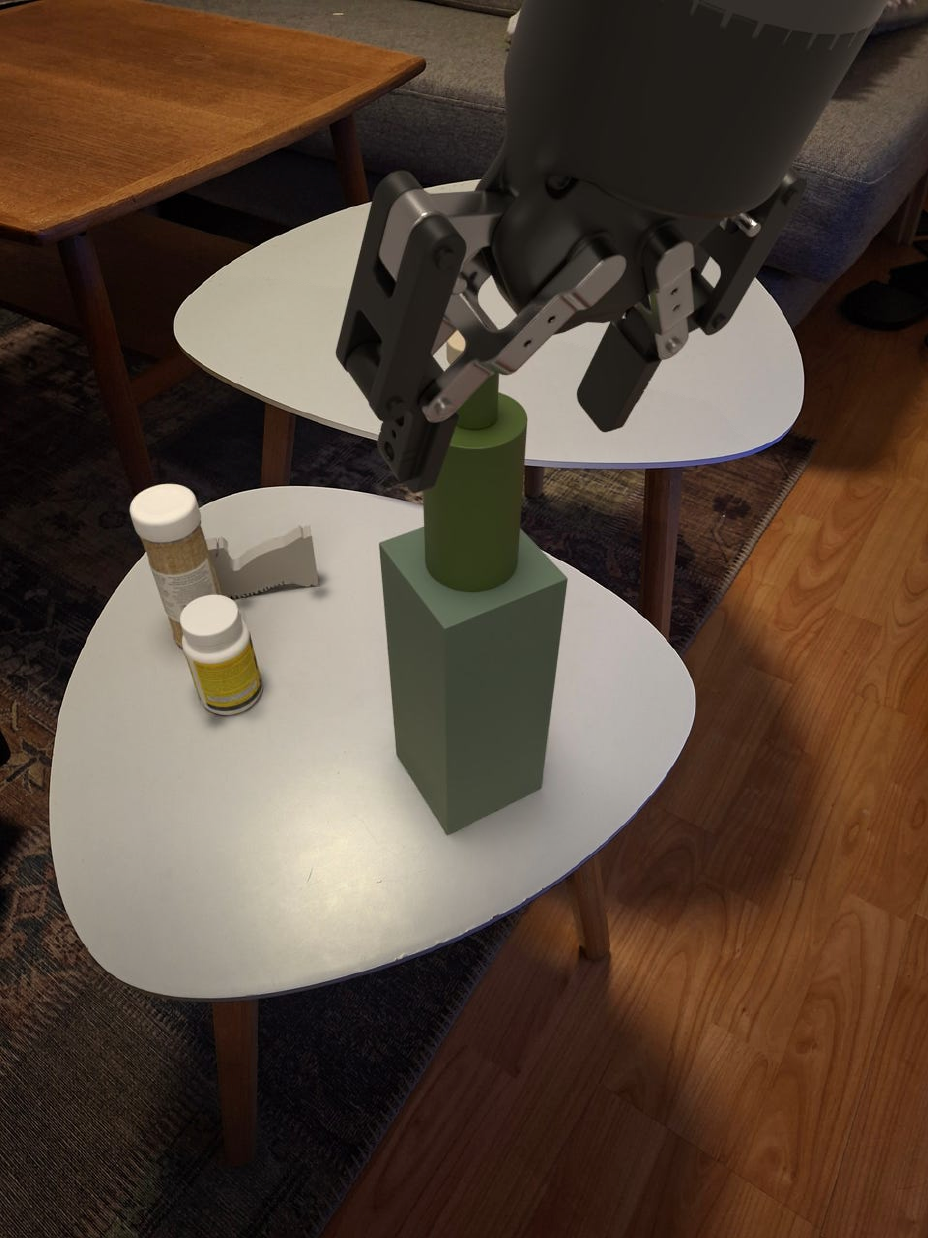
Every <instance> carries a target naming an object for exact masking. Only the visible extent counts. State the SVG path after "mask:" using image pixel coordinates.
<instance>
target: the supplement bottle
mask: <svg viewBox="0 0 928 1238" xmlns="http://www.w3.org/2000/svg"><path fill="white" fill-rule="evenodd" d="M180 624H181V627H182V631H183V637H182V647H183V648H182V647H181V648H182V651H183V654H184V657H185V660H186V663H187V666H188V670H189V673H190V675H191V679H192V681H193V684H194V687H195V690H196V693H197V696H198V699H199V701H200V703H201V705H202V706H203V707H204V708H205V709H207V710H208V711H210V712H212V713H214V714H217V715H223V716H229V715H236V714H239V713H242V712H244V711H246V710H248V709H250V708H251V707H252V706H253V705H254V704H255V703H256V702H257V701H258V700H259V698H260V697H261V695H262V691H263V680H262V679H263V678H262V675H261V672H260V667H259V664H258V660H257V654H256V651H255V648H254V644H253V639H252V635H251V631H250V629H249V626H248V625H247V623H246V622H245V621H244V620H243V619H242V615H241V614H240V611H239V608H238V605H237V603H236V602H235V601H234V600H233V599H230V598H228V597H227V596H222V595H207V596H203V597H200V598H197V599H195V600H193V601H192V602H190V603H189V604H188V605H187V606H186V607H185V608H184V609H183V611H182V613H181V615H180Z"/></svg>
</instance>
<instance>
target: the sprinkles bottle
mask: <svg viewBox="0 0 928 1238" xmlns="http://www.w3.org/2000/svg"><path fill="white" fill-rule="evenodd" d="M129 514H130V518H131V521H132V525H133V527H134V530H135V532H136V533H137V535H138V536H139V538H140V540H141V543H142V545H143V546H144V551H145V552H146V557H147V560H148V565H149V569H150V571H151V573H152V576H153V579H154V582H155V585H156V588H157V591H158V594H159V598H160V601H161V603H162V606H163V608H164V611H165V614H166V615H167V618H168V621H169V625H170V626H171V629H172V638H173V640H174V642H175V643H176V644H177V645H178V646H179V647H180V648H182V649H183V647H182V637H183V631H182V627H181V624H180V615H181V613H182V611H183V609H184V608H185V607H186V606H187V605H188V604H189V603H190V602H192V601H193V600H195V599H197V598H200V597H203V596H207V595H221V591H220V587H219V584H218V580H217V577H216V573H215V569H214V567H213V565H212V562H211V558H210V554H209V551H208V548H207V544H206V540H207V539H206V537H205V535H204V531H203V527H202V513H201V510H200V507H199V502H198V501H197V497H196V495H195V494H194V492H193V491H192V490H191V489H190V488H188V487H186V486H184V485H182V484H181V485H180V484H176V483H164V484H163V483H162V484H158V485H157V484H156V485H153V486H151V487H148V488H145V489H144V490H143V491H140V492H139V493H138V494H137V495H136V496H134V498H133V500H132V501H131V503H130V505H129ZM205 539H206V540H205Z"/></svg>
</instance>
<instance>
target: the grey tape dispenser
mask: <svg viewBox="0 0 928 1238" xmlns="http://www.w3.org/2000/svg"><path fill="white" fill-rule="evenodd" d="M205 540H206V544H207V548H208V551H209V554H210V558H211V562H212V565H213V567H214V569H215V573H216V577H217V580H218V584H219V587H220V591H221V595H222V596H226V597H228V598H230V599H231V597H232V598H233V599H241V598H242V597H244V598H245V597H249V596H250V595H251V596H254V594H259V591H260V592H261V593H263V592H265V591H268V590H269V589H271V588H276V587H278V586H279V585H280V586H284V585H292V584H295V585H299V586H303V587H306V588H309V587H310V586H314V587H318V586H320V584H319V577H318V576H319V575H318V569H317V562H316V555H315V554H316V553H315V547H314V540H313V534H312V528H311V524H309V525H305V526H301V525H297V526H296V527H295V528H293V529H292V530H290V531H288V532H287V533H285V534H283V535H281V536H277V537H274V538H270V539H268V540H266V541H263V542H261V543H258V544H257V545H254V546H253V547H251V548H250V549H248V550H246V551H245V552H244V553H243V554H242V555H240V556H239V557H238V558H235V559H233V558H232V557H231V555H230V554H229V544H228V540H226V538H225V537H223V536H219V537H218V538H217V537H210V538H205ZM231 600H232V599H231Z"/></svg>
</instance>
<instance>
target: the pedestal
mask: <svg viewBox="0 0 928 1238" xmlns="http://www.w3.org/2000/svg"><path fill="white" fill-rule="evenodd" d="M378 549H379V550H378V551H379V563H380V573H381V575H380V576H381V587H382V597H383V599H382V600H383V609H384V621H385V634H386V647H387V657H388V659H387V660H388V670H389V681H390V692H391V693H390V695H391V707H392V717H393V718H392V719H393V729H394V741H395V743H394V744H395V751H396V752H395V753H396V756H397V758H398V759H399V761H400V763H401V764H402V766H403V767H404V769H405V770H406V772H407V774H408V775H409V777H410V778H411V780H412V782H413V784H414V785H415V786H416V788H417V790H418V792H419V793H420V794H421V796H422V798H423V800H425V802H426V804H427V805H428V807H429V810H431V812H432V814H433V815H434V817H435V818H436V819H437V821H438V823H439V825H440V826H441V828H442V829H443V831H444V832H445V834H446V835H447V836H449V835H450V834H452V833H455V832H456V831H459V830H461V829H462V828H464V827H467V826H468V825H470V824H472V823H474V822H476V821H478V820H480V819H482V818H484V817H486V816H488V815H491V814H492V813H494V812H497V811H498V810H500V809H502V808H504V807H506V806H508V805H510V804H512V803H514V802H516V801H518V800H520V799H522V798H524V797H527V796H528V795H530V794H532V793H534V792H536V791H538V790H540V789H542V786H543V781H544V780H543V779H544V772H545V763H546V756H547V747H548V739H549V731H550V724H551V716H552V715H551V714H552V706H553V699H554V690H555V684H556V675H557V668H558V659H559V651H560V643H561V638H562V637H561V636H562V629H563V628H562V627H563V619H564V612H565V604H566V597H567V588H568V582H569V581H568V579H569V578H568V577H567V576H566V575H565V573H564V572H563V571H561V569H560V568H559V567H558V566H557V565H556V564H555V563H554V562H553V561H552V560H551V559H550V557H549V556H547V554H546V553H545V552H544V551H543V550H542V549H541V548H540V547H539V546H538V545H537V544H536V543H535V542H534V541H533V540H532V539H531V538H530V536H529V535H527V533H526V532H525V531H524V530H523V529H522V528H521V527H520V537H519V551H518V564H517V568H516V570H515V572H514V574H513V575H512V576H511V577H510V578H509V579H508V580H507V581H506V582H505V583H503V584H501V585H500V586H497V587H495V588H492V589H489V590H485V591H478V592H466V591H459V590H455V589H452V588H449V587H446V586H444V585H442V584H441V583H439V582H438V581H436V580H435V579H434V578H433V577H432V576H431V574H430V573H429V571H428V570H427V567H426V564H425V541H424V526H422V527H419V528H416V529H413V530H411V531H408V532H405V533H402V534H399V535H396V536H394V537H391V538H388V539H385V540H383V541H380V542H378Z"/></svg>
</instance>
